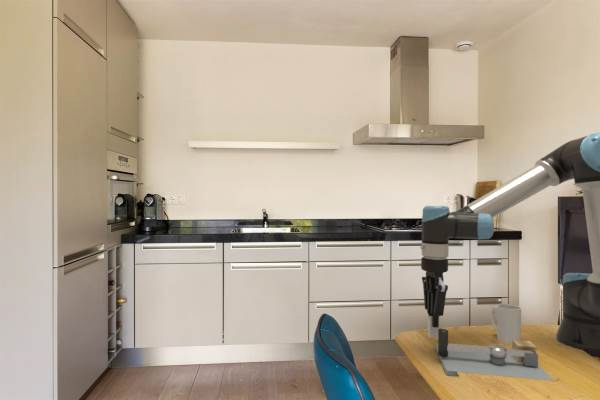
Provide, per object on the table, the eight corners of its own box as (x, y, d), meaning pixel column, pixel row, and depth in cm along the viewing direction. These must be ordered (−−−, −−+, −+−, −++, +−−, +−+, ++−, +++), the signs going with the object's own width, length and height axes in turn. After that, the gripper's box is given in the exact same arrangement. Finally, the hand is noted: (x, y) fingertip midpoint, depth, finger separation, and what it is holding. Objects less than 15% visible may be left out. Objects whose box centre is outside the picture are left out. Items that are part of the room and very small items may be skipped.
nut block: (529, 356, 104) (529, 341, 104) (536, 363, 99) (536, 347, 99) (512, 355, 104) (512, 339, 105) (518, 362, 100) (518, 345, 100)
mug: (526, 347, 114) (526, 308, 114) (510, 349, 112) (510, 310, 112) (498, 336, 123) (498, 300, 124) (483, 338, 121) (483, 302, 121)
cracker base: (524, 355, 108) (524, 345, 108) (554, 385, 90) (554, 373, 90) (435, 347, 113) (435, 337, 113) (446, 375, 95) (446, 363, 95)
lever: (532, 361, 100) (532, 334, 100) (539, 368, 95) (539, 340, 96) (436, 352, 105) (437, 327, 105) (439, 359, 101) (439, 332, 101)
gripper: (414, 254, 115) (412, 329, 115) (431, 260, 102) (429, 345, 102) (437, 254, 115) (436, 329, 115) (457, 261, 102) (456, 345, 102)
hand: (433, 336), depth 108 cm, fingers closed
